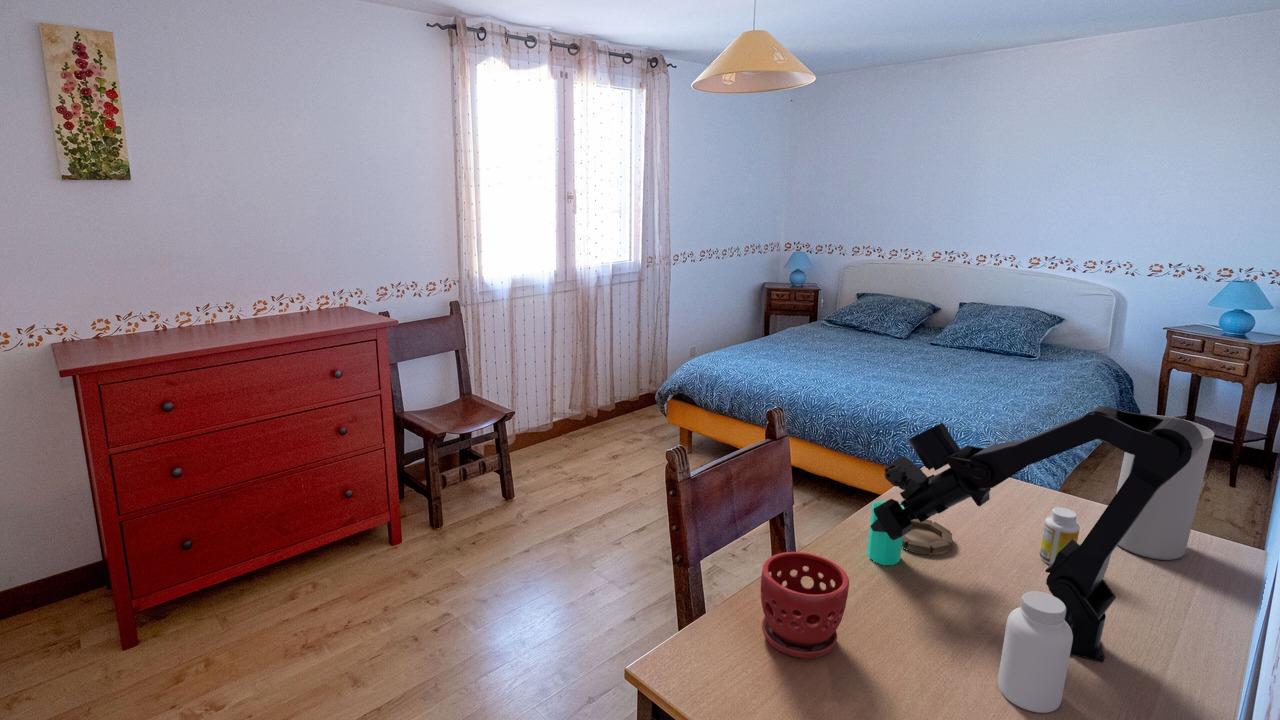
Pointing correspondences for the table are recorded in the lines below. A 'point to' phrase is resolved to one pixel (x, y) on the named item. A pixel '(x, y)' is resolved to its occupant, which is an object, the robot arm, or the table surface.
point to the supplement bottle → (1058, 533)
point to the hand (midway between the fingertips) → (880, 523)
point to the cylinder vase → (1168, 507)
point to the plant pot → (802, 604)
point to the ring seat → (927, 538)
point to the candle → (883, 544)
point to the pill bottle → (1036, 653)
